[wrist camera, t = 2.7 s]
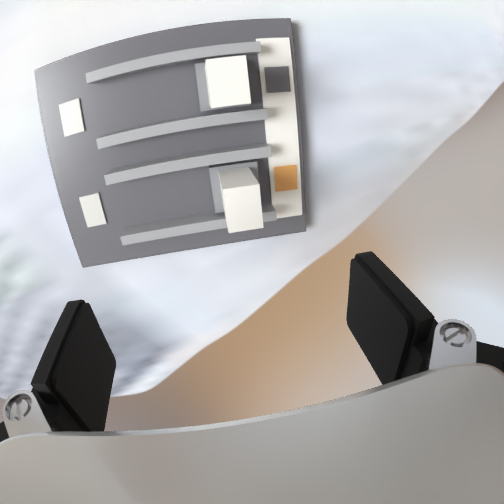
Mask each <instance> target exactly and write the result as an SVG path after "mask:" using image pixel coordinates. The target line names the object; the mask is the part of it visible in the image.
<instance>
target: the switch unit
mask: <svg viewBox="0 0 504 504" xmlns="http://www.w3.org/2000/svg"><path fill="white" fill-rule="evenodd" d="M242 55H246V61H247V70H248V79H249V88H250V97H251V105H248V106H239V107H231V108H223V109H216V110H209V111H202V112H201V109H200V102H199V94H198V86H197V78H196V70H195V64H198V63H205V60H206V59H214V58H222V57H232V56H242ZM35 79H36V87H37V95H38V101H39V108H40V114H41V120H42V125H43V130H44V136H45V140H46V145H47V150H48V154H49V159H50V163H51V167H52V171H53V175H54V179H55V183H56V187H57V190H58V194H59V197H60V201H61V204H62V208H63V211H64V214H65V218H66V221H67V224H68V227H69V230H70V233H71V236H72V239H73V242H74V245H75V248H76V250H77V253H78V256H79V259H80V261H81V264H82V267H83V268H84V267H89V266H95V265H101V264H107V263H113V262H119V261H124V260H130V259H136V258H142V257H148V256H154V255H160V254H166V253H172V252H178V251H184V250H191V249H197V248H203V247H209V246H215V245H221V244H228V243H234V242H240V241H247V240H253V239H259V238H266V237H272V236H278V235H285V234H291V233H298V232H304V231H306V216H305V191H304V170H303V152H302V136H301V122H300V109H299V96H298V85H297V74H296V63H295V54H294V44H293V35H292V27H291V18H276V19H250V20H236V21H224V22H215V23H206V24H199V25H192V26H185V27H179V28H173V29H168V30H163V31H158V32H153V33H148V34H144V35H139V36H135V37H131V38H127V39H123V40H119V41H116V42H112V43H109V44H105V45H102V46H99V47H95V48H92V49H89V50H86V51H83V52H80V53H77V54H74V55H71V56H69V57H66V58H63V59H61V60H58V61H55V62H53V63H50V64H48V65H45V66H43V67H41V68H38V69H36V70H35ZM252 159H256V161H257V165H258V175H259V185H260V195H261V206H262V216H263V227H264V228H259V229H253V230H246V231H240V232H234V233H229V232H228V227H227V222H226V217H225V212H220V213H215V206H214V200H213V193H212V187H211V180H210V173H209V166H210V165H216V164H223V163H230V162H237V161H244V160H252Z"/></svg>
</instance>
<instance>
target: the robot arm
mask: <svg viewBox="0 0 504 504" xmlns="http://www.w3.org/2000/svg"><path fill="white" fill-rule="evenodd" d="M347 324H348V327H349V329H350V330H351V332H352V334H353V335H354V337H355V339H356V340H357V342H358V344H359V345H360V347H361V349H362V350H363V352H364V354H365V355H366V357H367V359H368V361H369V362H370V364H371V366H372V367H373V369H374V371H375V372H376V374H377V376H378V378H379V379H380V381H381V383H382V385H381V386H378V387H375V388H371V389H368V390H365V391H362V392H358V393H355V394H351V395H348V396H345V397H341V398H338V399H334V400H330V401H326V402H322V403H319V404H315V405H310V406H307V407H302V408H298V409H293V410H289V411H284V412H279V413H275V414H270V415H264V416H259V417H254V418H248V419H242V420H236V421H229V422H223V423H215V424H208V425H199V426H192V427H191V426H190V427H181V428H170V429H157V430H140V431H105V432H104V429H105V423H106V417H107V411H108V404H109V399H110V394H111V388H112V383H113V378H114V373H115V368H116V360H115V357H114V355H113V353H112V351H111V349H110V347H109V345H108V343H107V341H106V339H105V337H104V334H103V332H102V330H101V328H100V326H99V324H98V322H97V319H96V317H95V315H94V313H93V310H92V308H91V306H90V304H89V303H85V301H84V300H76V301H69V302H68V303H67V304H66V306H65V308H64V310H63V312H62V314H61V316H60V318H59V320H58V322H57V325H56V327H55V329H54V331H53V333H52V335H51V337H50V339H49V342H48V344H47V346H46V348H45V351H44V353H43V355H42V357H41V360H40V362H39V364H38V367H37V369H36V372H35V374H34V377H33V379H32V382H31V385H32V386H33V388H32V391H31V392H30V391H27V390H21V391H17V392H15V393H13V394H12V395H11V396H9V397H8V399H7V400H6V401H5V403H4V405H3V408H2V417H3V420H4V421H3V422H2V423H0V504H504V348H502V347H498V346H494V345H490V344H486V343H482V342H478V341H476V334H475V332H474V330H473V329H472V327H470V326H469V325H468V324H467V323H465V322H463V321H460V320H456V319H448V320H444V321H442V322H440V323H438V322H437V321H436V320H435V319H434V316H433V315H432V313H431V312H430V311H429V310H428V309H427V308H426V307H425V306H424V305H423V304H422V303H421V301H420V300H419V299H418V298H417V297H416V296H415V295H414V294H413V293H412V292H411V291H410V290H409V289H408V288H407V287H406V286H405V284H404V283H403V282H402V281H401V280H400V279H399V278H398V277H397V276H396V275H395V274H394V273H393V272H392V271H391V270H390V269H389V268H388V267H387V266H386V265H385V264H384V263H383V262H382V261H381V260H380V259H379V258H378V257H377V256H376V255H375V254H374V253H373V252H371V251H370V252H365V253H359V254H356V255H355V258H354V259H352V260H351V266H350V281H349V295H348V307H347Z"/></svg>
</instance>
